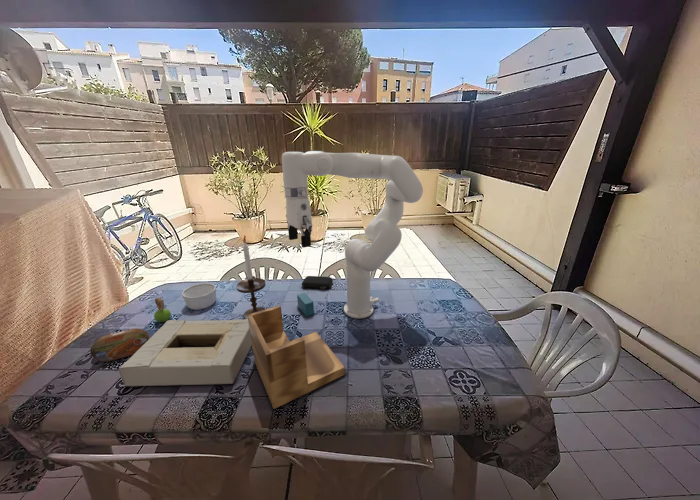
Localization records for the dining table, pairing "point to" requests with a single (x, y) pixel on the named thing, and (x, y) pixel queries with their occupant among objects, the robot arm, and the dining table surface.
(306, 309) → the teal rectangular block
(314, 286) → the carrying case
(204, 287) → the ramekin
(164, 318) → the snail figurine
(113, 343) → the tin
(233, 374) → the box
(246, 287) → the candlestick
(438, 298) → the dining table surface
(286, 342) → the shelf
